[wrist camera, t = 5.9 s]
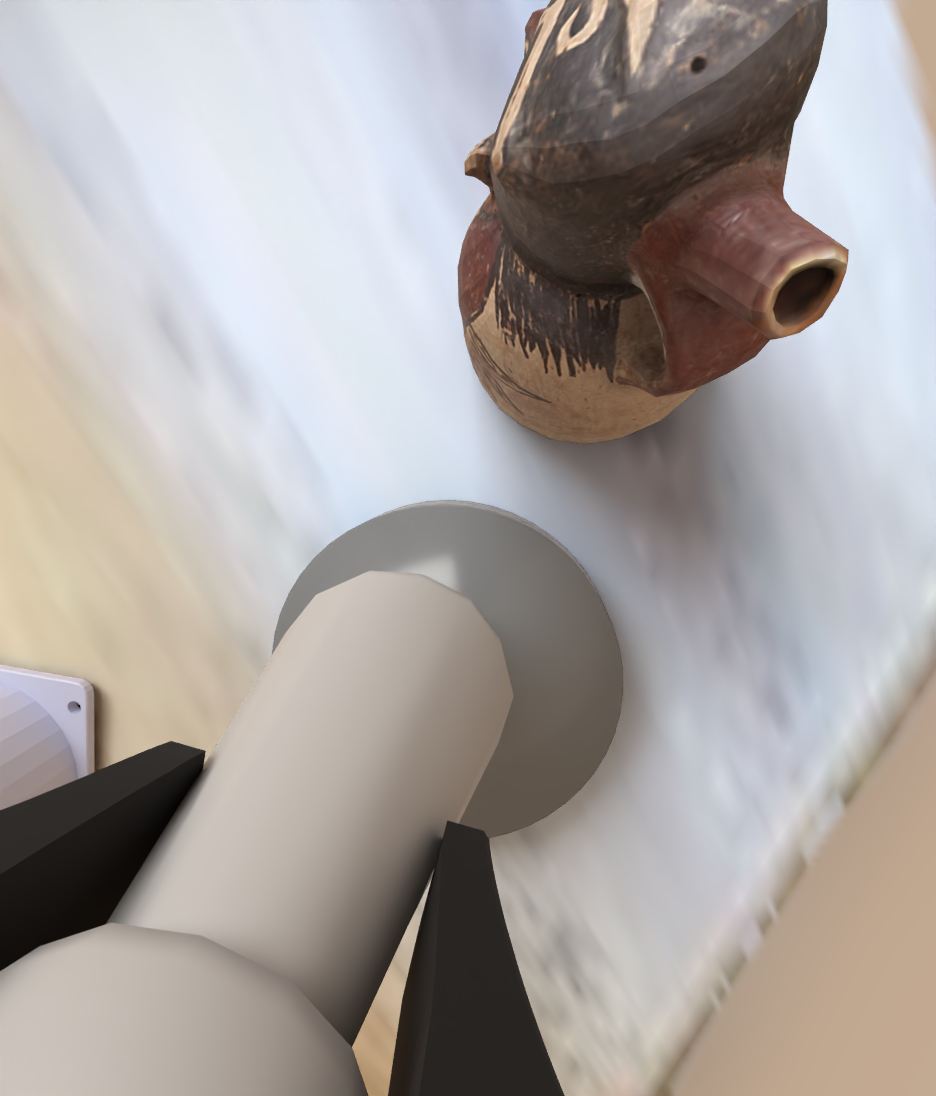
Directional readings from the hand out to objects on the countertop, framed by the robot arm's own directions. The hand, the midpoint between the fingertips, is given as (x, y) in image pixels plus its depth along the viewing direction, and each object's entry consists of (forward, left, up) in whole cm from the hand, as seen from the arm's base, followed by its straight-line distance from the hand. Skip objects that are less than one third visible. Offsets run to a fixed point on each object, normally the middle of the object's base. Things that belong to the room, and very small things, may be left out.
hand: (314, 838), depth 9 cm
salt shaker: (+1, 0, -8) cm, 8 cm away
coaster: (-1, -1, -10) cm, 10 cm away
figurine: (+10, -4, -11) cm, 15 cm away
